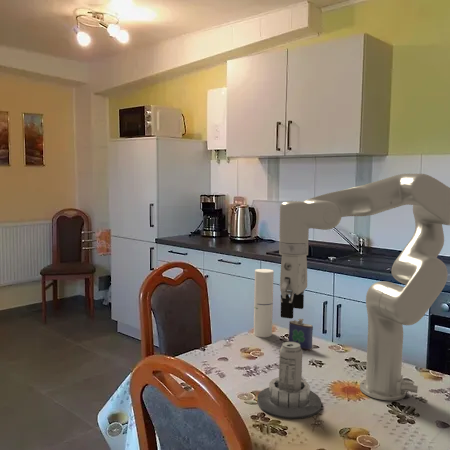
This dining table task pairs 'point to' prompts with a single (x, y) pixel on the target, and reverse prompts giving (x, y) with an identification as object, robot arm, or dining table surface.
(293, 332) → the flask
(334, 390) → the dining table surface
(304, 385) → the rosette socket
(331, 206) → the robot arm
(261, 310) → the cylindrical container
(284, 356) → the energy drink can
